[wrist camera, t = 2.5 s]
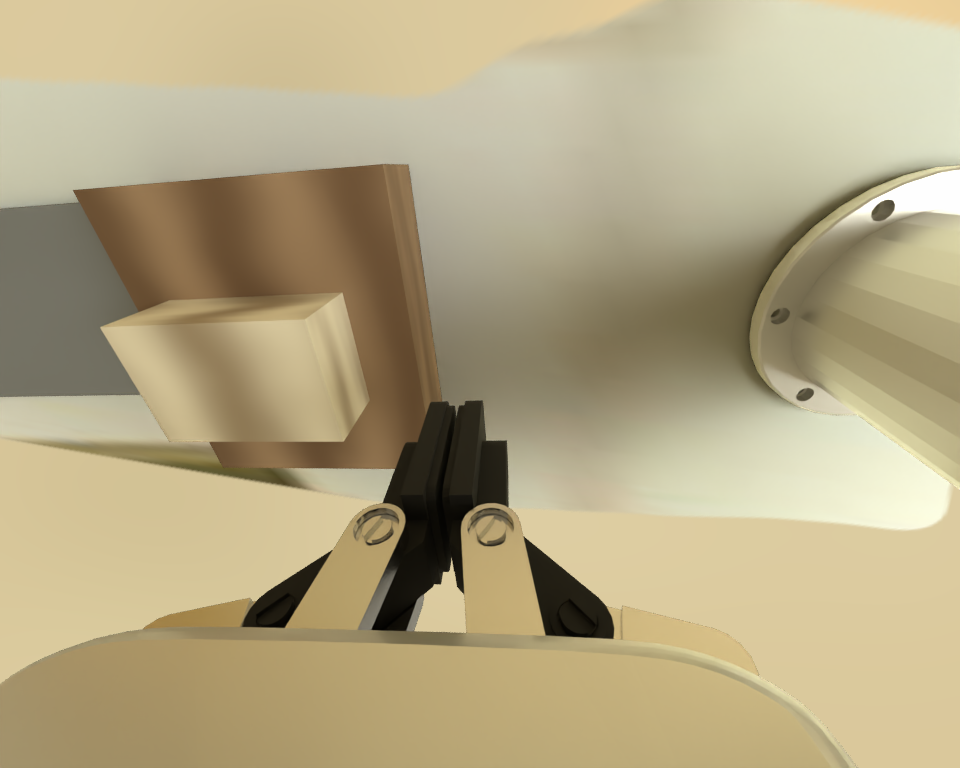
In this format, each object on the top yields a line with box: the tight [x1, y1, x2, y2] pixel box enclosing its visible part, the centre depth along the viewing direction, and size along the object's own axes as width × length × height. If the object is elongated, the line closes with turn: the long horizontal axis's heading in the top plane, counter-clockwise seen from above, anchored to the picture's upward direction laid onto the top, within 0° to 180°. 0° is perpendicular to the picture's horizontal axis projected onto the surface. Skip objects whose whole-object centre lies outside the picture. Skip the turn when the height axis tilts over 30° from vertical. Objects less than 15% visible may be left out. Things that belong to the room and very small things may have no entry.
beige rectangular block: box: [100, 293, 370, 442], centre depth 18 cm, size 9×6×4 cm, turn 94°
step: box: [73, 164, 442, 469], centre depth 21 cm, size 14×16×4 cm
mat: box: [0, 203, 141, 397], centre depth 24 cm, size 20×12×1 cm, turn 94°
